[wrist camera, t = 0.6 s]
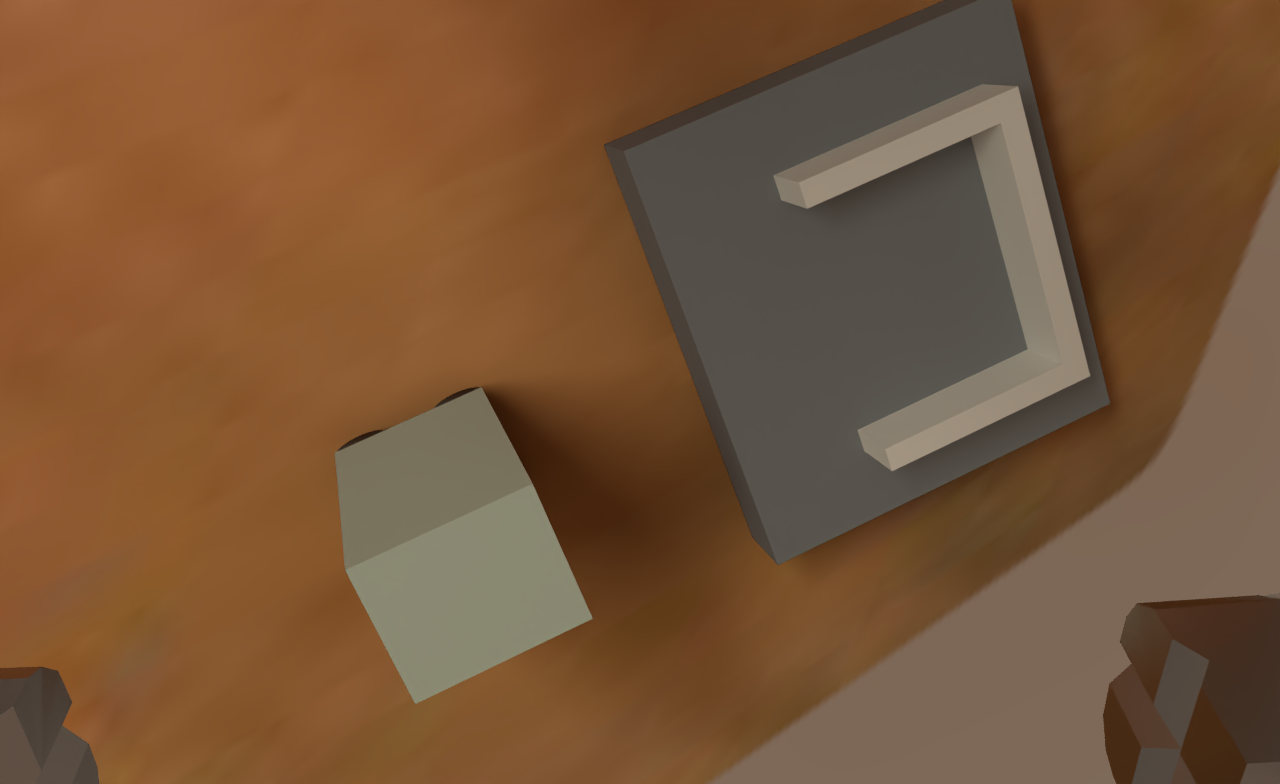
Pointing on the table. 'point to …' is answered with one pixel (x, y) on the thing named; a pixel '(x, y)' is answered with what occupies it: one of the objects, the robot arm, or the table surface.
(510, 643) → the pale green footed pillar
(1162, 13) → the table surface
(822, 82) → the dock
